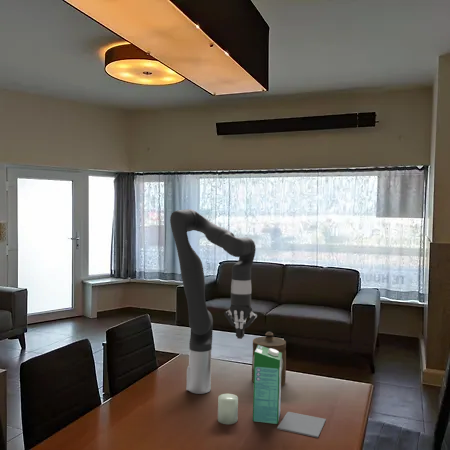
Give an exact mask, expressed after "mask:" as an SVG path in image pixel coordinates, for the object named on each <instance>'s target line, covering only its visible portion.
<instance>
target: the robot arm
mask: <svg viewBox="0 0 450 450" xmlns="http://www.w3.org/2000/svg"><path fill="white" fill-rule="evenodd" d="M169 220H170V221H169V223H170V229H171V232H172V236H173V239H174V243H175V246H176V251H177V257H178V262H179V268H180V274H181V279H182V286H183V289H184V294H185V297H186V302H187V309H188V310H187V313H188V325H189V326H188V327H189V328H190V335H189V347H188V349H189V351H188V352H189V355H188V366H187V367H186V389H185V390H186V391H189V392H190V393H192V394H196V395H198V394H199V395H200V394H201V395H202V394H203V395H204V394H207V393H209V392H210V391H211V385H212V350H213V349H212V348H213V347H212V346H213V332H214V331H213V328H214V319H213V314H212V313H211V311H209V310H208V306H207V303H206V296H205V295H206V294H205V293H206V291H205V290H206V288H205V287H206V284H205V283H206V282H205V273H204V266H203V262H202V260H201V258H200V256H199V255H198V254H197V252H196V251H195V250H194V249H193V247H192V246H191V244H190V243H191V242H190V241H189V236H188V232H192V231H196V232H200V233H202V234H203V235H204V236H205V238H206V239H207V240H208V242H210V243H212V244H213V245H215V246H218V247H219V248H222V249H223V250H224V251H225V252H226V253H227V254H229V255H230V256H232V257H235V258H238V261H237V262H236V263H234V264H233V265H232V268H231V284H230V306H229V309H228V310H227V311H224V312H223V314H224V316H225V318H226V319H227V320H228V323H229V324H230V325H231V327H234V328H235V337H236V339H239V340H240V339H243V338H244V337H245V329H247V328H249V327H250V326H251V325H252V323H253V322H254V321H255V319H257V318H258V314H257V313H254V311H253V309H252V267H253V265H254V264H253V263H254V259H255V255H256V250H257V249H256V244H255V241H254V240H253V239H252V238H251V237H236V236H235V234H234V233H233V232H232V231H230V230H228V229H226V228H224V227H221V226H219V225H217V224H215V223H213V222H211V221H210V220H208V219H207V218H205V217H204V216H203V215H202V214H200V213H199V212H197V210H194V209H191V208H186V209H179V210H174V211H172V212H171V215H170V219H169ZM247 318H249V320H248V321H247ZM246 321H247V322H246Z"/></svg>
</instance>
